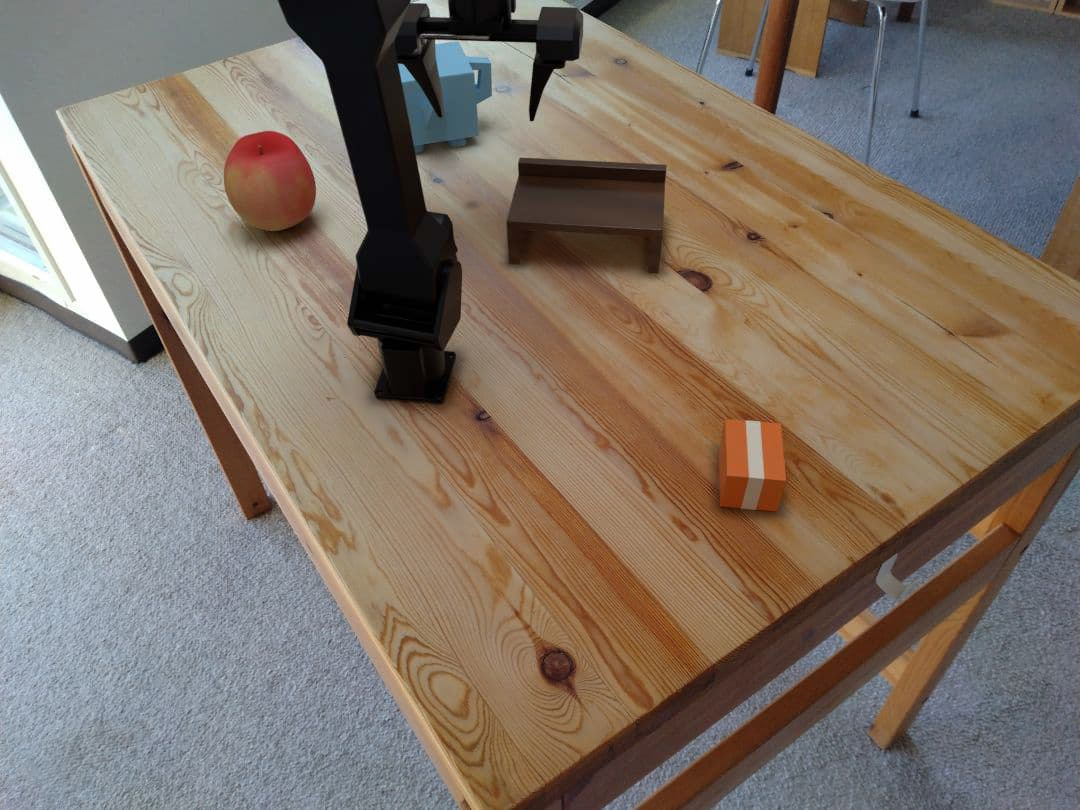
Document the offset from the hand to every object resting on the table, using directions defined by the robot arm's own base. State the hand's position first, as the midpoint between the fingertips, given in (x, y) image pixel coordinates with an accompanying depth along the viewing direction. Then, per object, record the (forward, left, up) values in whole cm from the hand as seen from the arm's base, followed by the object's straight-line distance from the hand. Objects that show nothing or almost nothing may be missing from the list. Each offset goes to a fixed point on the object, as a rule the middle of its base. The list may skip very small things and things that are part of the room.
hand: (486, 117), depth 85 cm
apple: (-1, +25, -14) cm, 28 cm away
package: (-33, -26, -14) cm, 44 cm away
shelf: (-1, -10, -14) cm, 17 cm away
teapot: (+21, +12, -14) cm, 28 cm away
